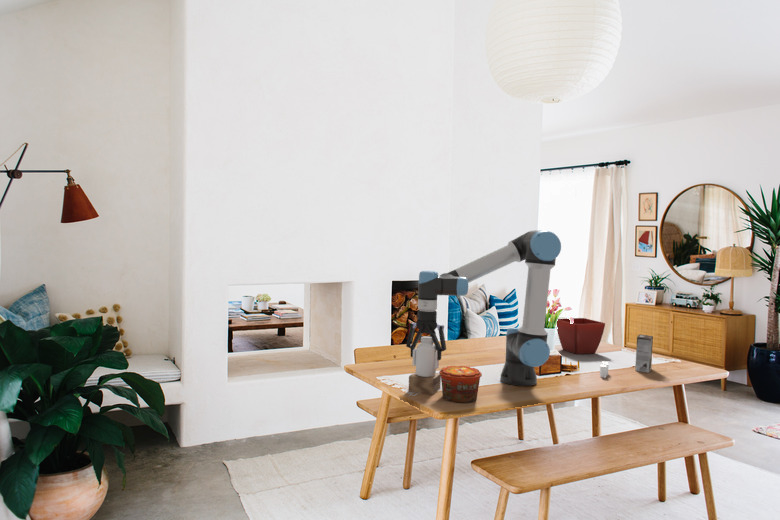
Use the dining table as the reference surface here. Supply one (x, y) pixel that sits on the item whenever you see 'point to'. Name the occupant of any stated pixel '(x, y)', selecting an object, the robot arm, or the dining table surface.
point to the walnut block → (424, 383)
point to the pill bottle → (426, 357)
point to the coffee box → (644, 353)
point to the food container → (460, 383)
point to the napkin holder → (604, 369)
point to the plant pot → (580, 335)
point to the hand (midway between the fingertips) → (425, 366)
